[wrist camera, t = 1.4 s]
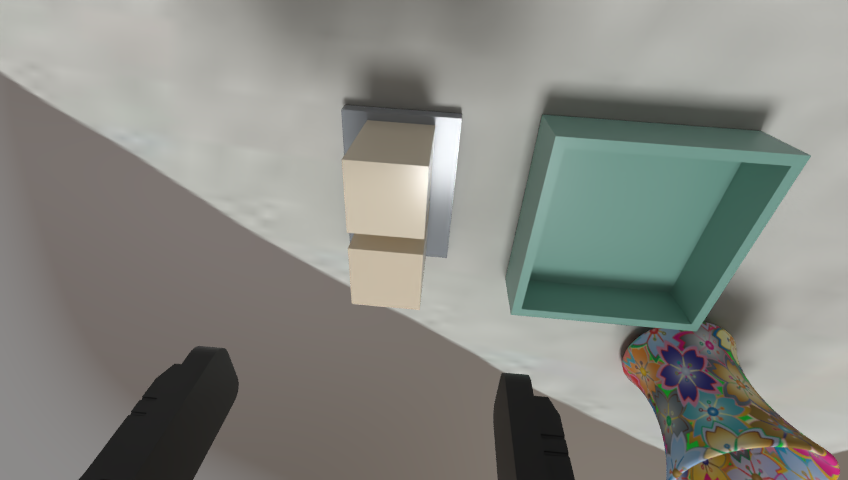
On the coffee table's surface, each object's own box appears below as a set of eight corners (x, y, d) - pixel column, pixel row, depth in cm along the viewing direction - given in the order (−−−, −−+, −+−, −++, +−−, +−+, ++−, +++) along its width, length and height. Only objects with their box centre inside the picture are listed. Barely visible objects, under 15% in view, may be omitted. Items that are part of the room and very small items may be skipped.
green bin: (542, 114, 23) (555, 136, 20) (761, 130, 22) (811, 155, 19) (505, 279, 30) (510, 314, 27) (671, 293, 29) (696, 331, 26)
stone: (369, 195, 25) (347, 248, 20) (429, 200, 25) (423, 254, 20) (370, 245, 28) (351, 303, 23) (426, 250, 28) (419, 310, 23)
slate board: (345, 104, 23) (341, 109, 22) (461, 113, 23) (461, 118, 22) (353, 241, 29) (350, 249, 28) (447, 249, 29) (446, 257, 28)
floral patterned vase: (590, 355, 34) (636, 487, 25) (683, 291, 29) (779, 425, 20) (682, 406, 37) (752, 540, 28) (779, 355, 32) (899, 496, 23)
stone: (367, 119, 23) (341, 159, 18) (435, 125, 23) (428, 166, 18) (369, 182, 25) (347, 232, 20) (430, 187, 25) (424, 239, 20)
